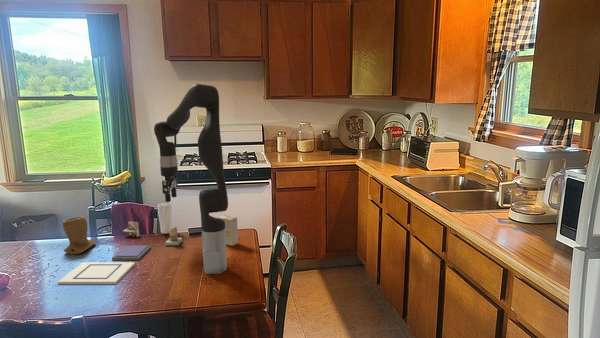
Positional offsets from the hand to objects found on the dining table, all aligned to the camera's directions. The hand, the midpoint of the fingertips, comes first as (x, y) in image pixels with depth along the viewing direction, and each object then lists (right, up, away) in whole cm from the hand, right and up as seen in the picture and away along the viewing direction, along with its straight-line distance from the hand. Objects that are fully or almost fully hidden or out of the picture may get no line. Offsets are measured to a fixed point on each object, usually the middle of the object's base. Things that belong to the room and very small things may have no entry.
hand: (171, 199), depth 194 cm
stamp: (0, -21, +4) cm, 22 cm away
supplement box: (+26, -21, +4) cm, 34 cm away
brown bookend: (-42, -23, -2) cm, 48 cm away
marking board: (-20, -28, -28) cm, 44 cm away
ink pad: (-15, -24, -8) cm, 29 cm away
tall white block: (-9, -19, +20) cm, 29 cm away
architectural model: (-24, -20, +15) cm, 35 cm away
